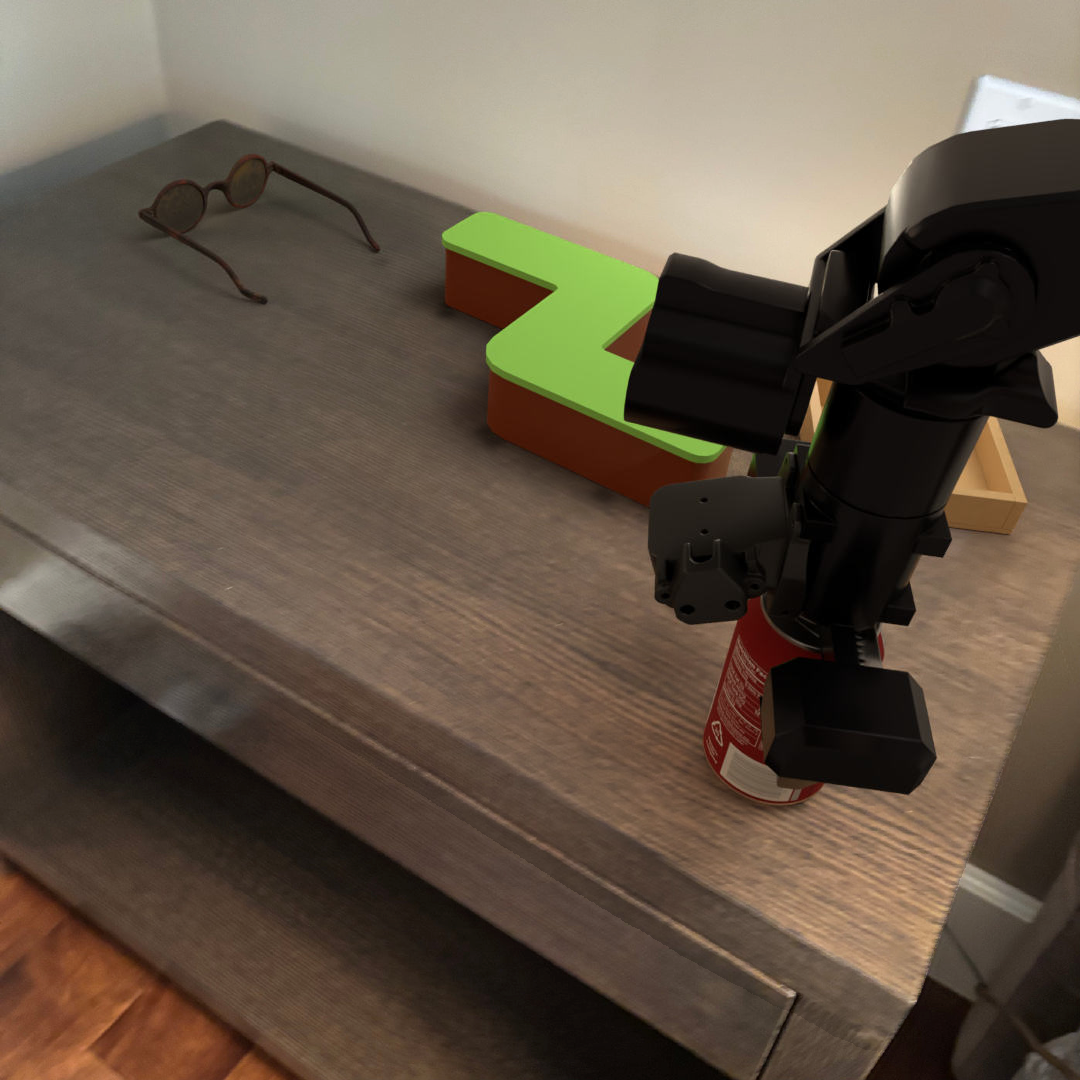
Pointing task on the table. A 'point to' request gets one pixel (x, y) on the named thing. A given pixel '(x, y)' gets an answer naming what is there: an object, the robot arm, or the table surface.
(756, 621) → the soda can
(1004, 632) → the table surface
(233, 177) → the eyeglasses
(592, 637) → the table surface
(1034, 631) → the table surface
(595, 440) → the planter
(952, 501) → the tray
